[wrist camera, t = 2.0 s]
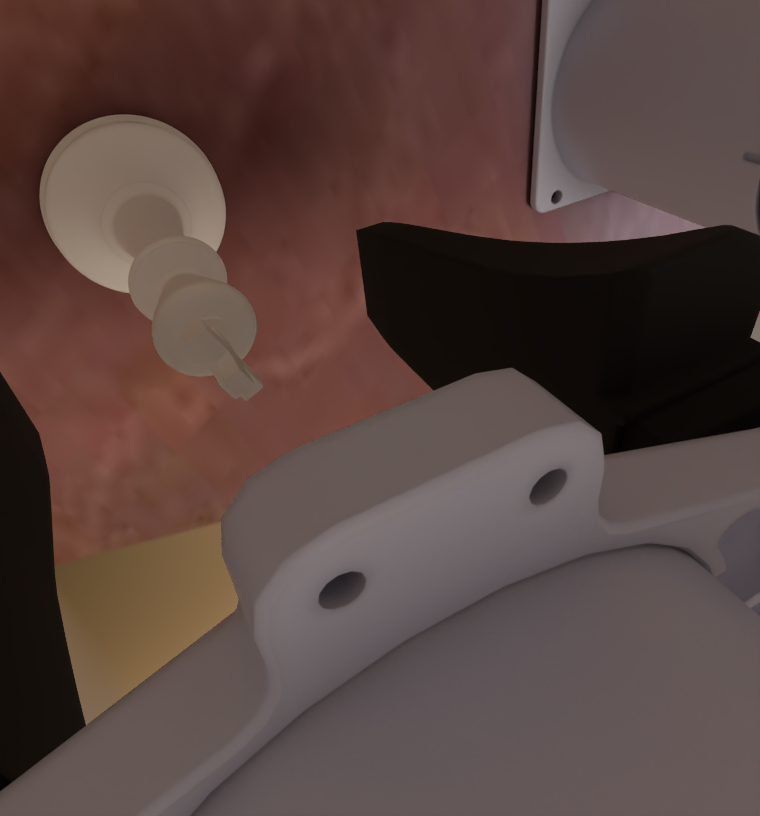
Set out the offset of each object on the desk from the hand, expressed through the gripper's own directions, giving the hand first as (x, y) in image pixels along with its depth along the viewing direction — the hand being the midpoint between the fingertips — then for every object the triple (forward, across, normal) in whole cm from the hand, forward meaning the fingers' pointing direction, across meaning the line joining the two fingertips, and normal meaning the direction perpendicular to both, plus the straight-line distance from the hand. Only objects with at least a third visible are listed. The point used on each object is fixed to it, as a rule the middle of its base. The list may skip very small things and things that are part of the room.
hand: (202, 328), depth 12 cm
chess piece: (+8, 0, 0) cm, 8 cm away
